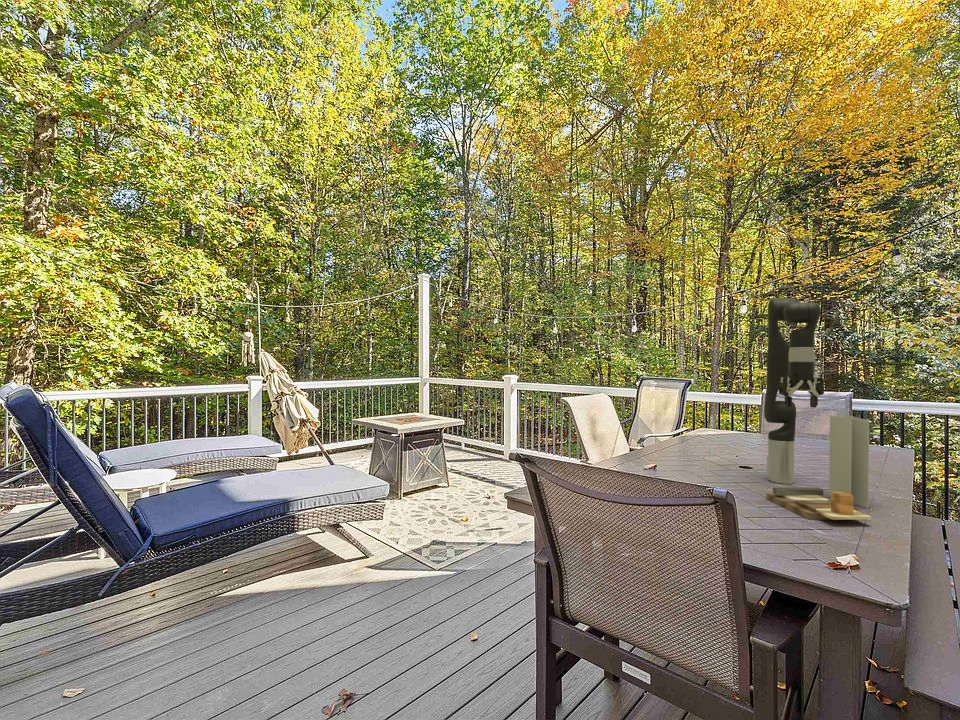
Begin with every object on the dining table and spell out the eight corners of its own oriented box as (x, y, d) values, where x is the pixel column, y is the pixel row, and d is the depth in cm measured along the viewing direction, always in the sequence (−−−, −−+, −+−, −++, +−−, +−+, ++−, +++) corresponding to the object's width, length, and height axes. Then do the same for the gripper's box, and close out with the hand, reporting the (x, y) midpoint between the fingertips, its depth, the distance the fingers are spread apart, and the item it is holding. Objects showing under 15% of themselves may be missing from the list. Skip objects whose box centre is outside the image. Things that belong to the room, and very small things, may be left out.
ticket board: (766, 498, 175) (766, 485, 175) (815, 498, 176) (815, 485, 176) (808, 519, 153) (808, 504, 153) (864, 519, 154) (864, 504, 154)
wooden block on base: (813, 511, 155) (814, 490, 155) (850, 510, 155) (851, 489, 155) (832, 519, 147) (832, 497, 147) (871, 519, 147) (871, 497, 147)
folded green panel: (868, 508, 164) (869, 420, 164) (850, 507, 165) (851, 420, 165) (845, 496, 178) (846, 415, 178) (829, 495, 179) (829, 415, 179)
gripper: (814, 360, 171) (813, 406, 171) (774, 360, 171) (773, 406, 171) (829, 360, 163) (829, 408, 164) (788, 360, 163) (787, 408, 163)
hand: (801, 407), depth 167 cm, fingers open, 8 cm apart
